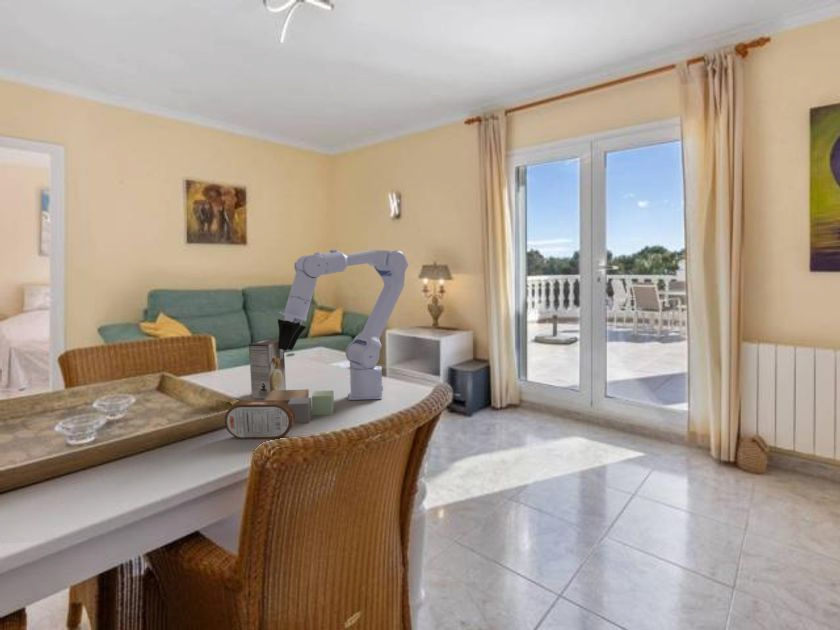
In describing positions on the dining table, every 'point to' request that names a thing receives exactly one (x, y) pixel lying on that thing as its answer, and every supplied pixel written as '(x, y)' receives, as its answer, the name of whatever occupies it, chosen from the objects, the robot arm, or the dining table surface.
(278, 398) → the walnut base
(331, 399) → the green cube
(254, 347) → the coffee box
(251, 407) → the tin
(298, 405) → the grey cube
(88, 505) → the dining table surface
